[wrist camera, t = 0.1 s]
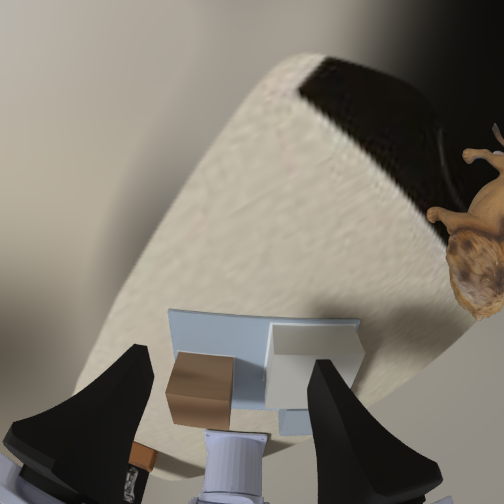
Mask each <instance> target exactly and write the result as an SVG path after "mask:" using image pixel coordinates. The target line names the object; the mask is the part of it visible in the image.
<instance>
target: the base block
mask: <svg viewBox="0 0 504 504" xmlns="http://www.w3.org/2000/svg"><path fill="white" fill-rule="evenodd" d="M365 354H366V353H365V351H364V349H363V346H362V344H361V341H360V339H359V337H358V334H357V332H356V330H355V327H354V326H298V325H272V330H271V338H270V345H269V352H268V359H267V366H266V373H265V380H264V382H265V409H308V402H307V387H308V383H309V380H310V377H311V374H312V371H313V367H314V364H315V361H316V359H330V360H331V361H332V363H333V364H334V366H335V367H336V369H337V370H338V372H339V373H340V375H341V376H342V378H343V379H344V381H345V382H346V384H347V385H348V386H349V388H351V386H352V384H353V381H354V379H355V377H356V375H357V373H358V370H359V368H360V366H361V364H362V361H363V359H364V357H365Z"/></svg>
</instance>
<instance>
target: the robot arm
mask: <svg viewBox="0 0 504 504" xmlns="http://www.w3.org/2000/svg"><path fill="white" fill-rule="evenodd" d="M153 381H154V373H153V369H152V365H151V361H150V357H149V353H148V348H147V346H144V345H138V344H134V345H132V346H131V347H130V348H129V349H128V350H127V351H126V352H125V353H124V354H123V355H122V356H121V357H120V358H119V359H118V360H117V361H116V362H115V363H113V364H112V365H111V366H110V367H109V368H108V369H107V370H106V371H105V372H104V373H102V374H101V375H100V376H99V377H98V378H97V379H95V380H94V381H93V382H92V383H90V384H89V385H88V386H87V387H85V388H84V389H83V390H81V391H80V392H79V393H77V394H76V395H74V396H73V397H71V398H69V399H68V400H66V401H64V402H62V403H61V404H59V405H57V406H55V407H53V408H51V409H49V410H47V411H45V412H42V413H40V414H37V415H35V416H33V417H29V418H26V419H23V420H19V421H16V422H13V424H12V425H11V427H10V429H9V431H8V432H7V434H6V436H5V438H4V440H3V444H4V446H5V447H6V448H7V449H8V450H9V451H10V452H11V453H12V454H13V455H15V456H16V457H17V458H18V459H19V460H20V461H21V462H23V463H24V465H23V467H20V466H19V465H18V464H16V463H15V462H14V461H12V460H11V459H9V458H8V457H6V456H5V455H4V454H2V453H0V502H1V503H2V504H124V492H125V483H126V475H127V469H128V463H129V458H130V453H131V449H132V444H133V440H134V437H135V434H136V431H137V428H138V426H139V423H140V420H141V418H142V415H143V413H144V410H145V407H146V405H147V402H148V399H149V397H150V393H151V389H152V385H153ZM307 402H308V412H309V417H310V423H311V428H312V433H313V438H314V443H315V449H316V456H317V472H318V504H423V502H425V500H426V499H425V494H426V493H428V492H429V491H431V490H432V489H434V488H435V487H437V486H438V485H440V484H441V483H442V481H443V478H442V475H441V472H440V469H439V467H438V464H437V463H436V462H434V461H432V460H430V459H428V458H426V457H425V456H422V455H421V454H419V453H417V452H416V451H414V450H413V449H411V448H409V447H408V446H406V445H405V444H404V443H402V442H401V441H400V440H399V439H397V438H396V437H394V436H393V435H392V434H391V433H390V432H388V431H387V430H386V429H385V428H384V427H383V426H382V425H381V424H380V423H379V422H378V421H377V420H376V419H375V418H374V417H373V416H372V415H371V414H370V413H369V412H368V410H367V409H366V408H365V407H364V406H363V405H362V403H361V402H360V401H359V400H358V398H357V397H356V396H355V395H354V393H353V392H352V391H351V389H350V388H349V386H348V385H347V384H346V382H345V381H344V379H343V378H342V376H341V375H340V373H339V372H338V370H337V369H336V367H335V366H334V364H333V363H332V361H331V360H330V359H316V361H315V364H314V367H313V371H312V374H311V377H310V380H309V383H308V387H307ZM204 435H205V442H206V448H207V453H208V454H207V461H206V468H205V476H204V483H203V492H202V493H201V492H200V493H199V498H198V497H194V498H193V499H191V500H190V501H189V502H188V504H270V503H268V502H264V497H262V457H263V453H264V449H265V445H266V441H267V434H255V433H236V432H224V431H214V430H205V431H204ZM432 504H453V500H452V498H451V496H447V497H445V498H443V499H441V500H439V501H437V502H434V503H432Z"/></svg>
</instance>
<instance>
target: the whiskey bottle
mask: <svg viewBox="0 0 504 504" xmlns="http://www.w3.org/2000/svg"><path fill="white" fill-rule="evenodd" d="M157 454H158V453H157V452H156V451H154V450H152V449H150V448H147V447H145V446H142V445H140V444H137V443H135V442H133V444H132V449H131V453H130V458H129V463H128V469H127V475H126V483H125V492H124V504H141V501H142V497H143V494H144V490H145V486H146V483H147V479H148V476H149V473H150V472H151V471H152V470H153V467H154V463H155V460H156V457H157Z"/></svg>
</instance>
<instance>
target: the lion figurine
mask: <svg viewBox="0 0 504 504" xmlns="http://www.w3.org/2000/svg"><path fill="white" fill-rule="evenodd" d="M493 133H494V135H495V137H496V139H497V140H498V141H499V142H500V143H501V144H502V145H503V146H504V139H503V138H502V137H501V134H500V131H499V129H498V128H497V125H496V124H494V126H493ZM477 158H482V159H486V160H487V161H488V162H489V163H490V164H491V165H492V166H494V167H495V168H496V169H497V170H498V171H499V172H500V176H499V177H498V178H497V179H495V180H493V181H492V182H490V183H488V184H487V185H485V186H484V187H483V188H482V189H481V190H480V191H479V192H478V193H477V195H476V196H475V198H474V200H473V201H472V203H471V206H470V208H469V210H468V213H456V212H452V211H449V210H446V209H444V208H441V207H431V208H430V209H428V211H427V219H428V220H429V221H431V222H432V223H435V222H436V221H437V220H438V221H442V222H443V223H444V224H445V225H446V226H447V230H448V233H449V234H451V236H450V238H449V245H448V247H447V250H446V253H447V255H446V260H447V263H448V265H449V268H450V269H449V272H450V273H449V274H450V283H451V287H452V289H453V291H454V295H455V298H456V300H457V301H458V303H459V305H461V306H462V307H463V308H464V309H466V310H468V311H469V312H470V313H471V314H473V316H474V317H475V319H476V320H477V321H481V320H482V319H483V317H490V316H491V315H492V314H495V313H497V312H499V311H500V310H501V309H502V307H503V305H504V153H503V152H500V151H495V152H494V153H491V152H490V151H489V150H486V149H483V150H475V149H466V150H464V151H463V159H464V161H465V162H466V163H467V164H471V163H472V162H473V161H474V160H475V159H477Z"/></svg>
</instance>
